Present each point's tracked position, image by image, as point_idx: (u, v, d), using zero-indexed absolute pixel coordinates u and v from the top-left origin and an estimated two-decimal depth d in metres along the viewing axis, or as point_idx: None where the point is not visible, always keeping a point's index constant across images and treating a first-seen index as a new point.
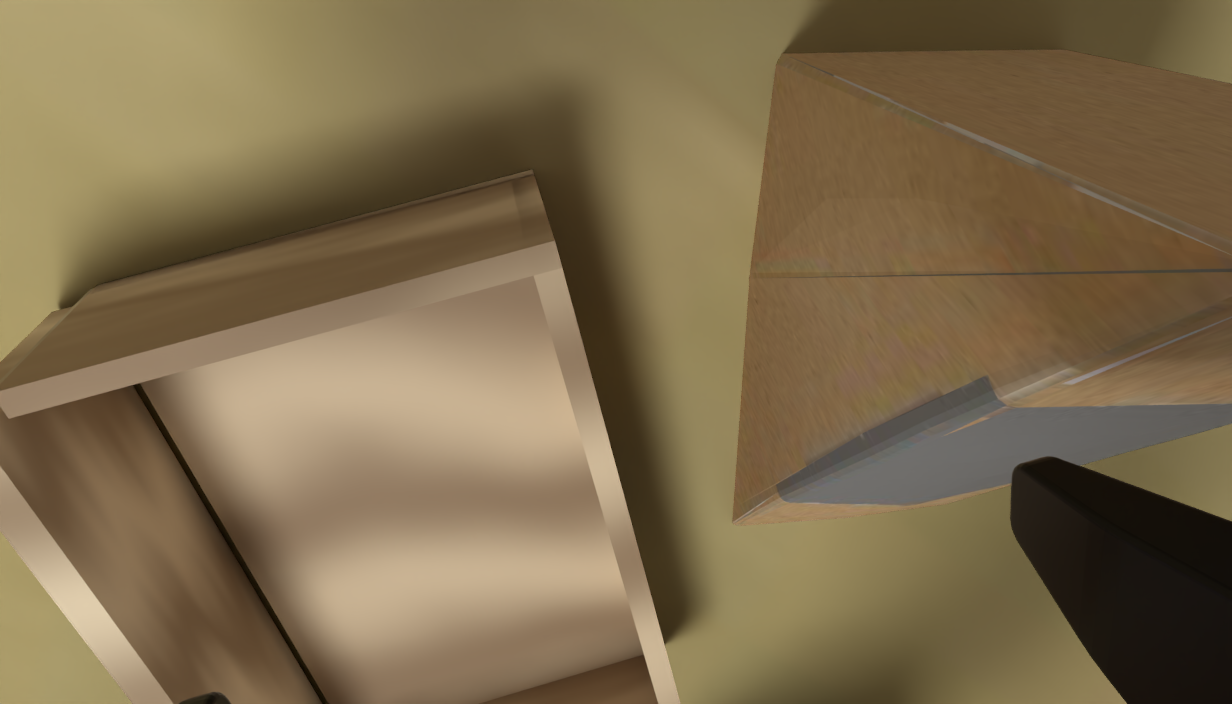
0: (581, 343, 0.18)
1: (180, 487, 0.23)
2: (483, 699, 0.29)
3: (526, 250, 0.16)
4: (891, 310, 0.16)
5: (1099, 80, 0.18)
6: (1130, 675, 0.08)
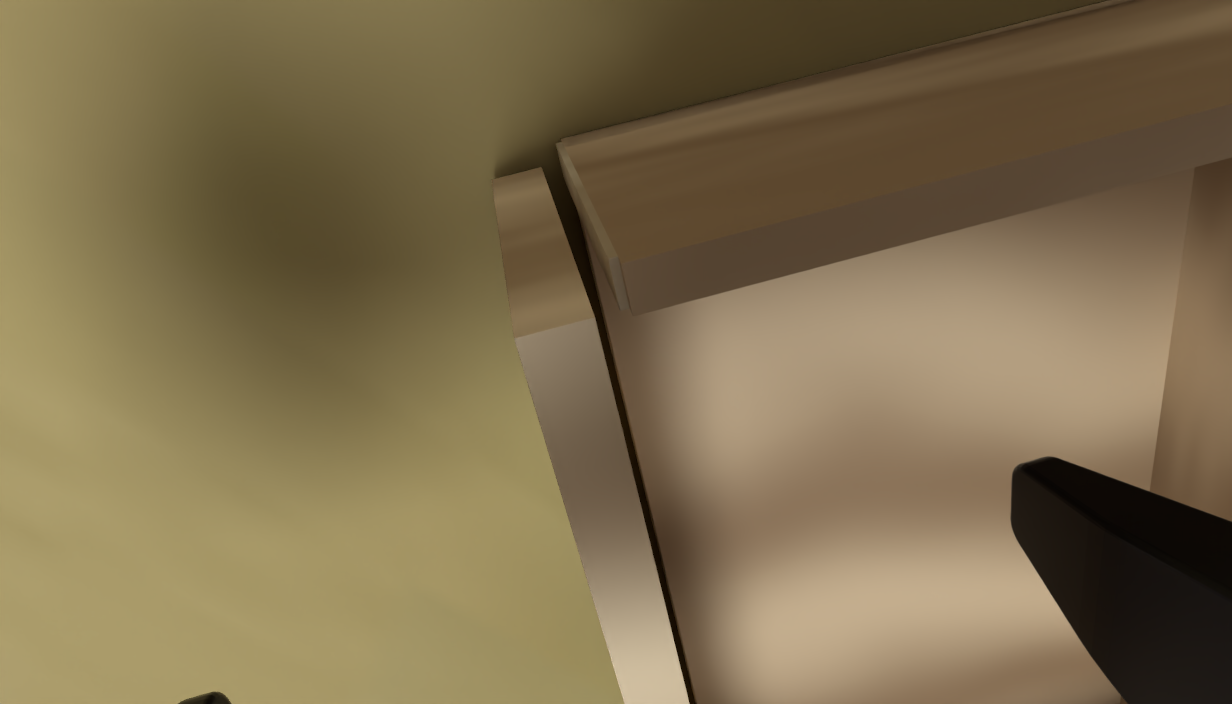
0: None
1: None
2: None
3: None
4: None
5: None
6: (1130, 675, 0.08)
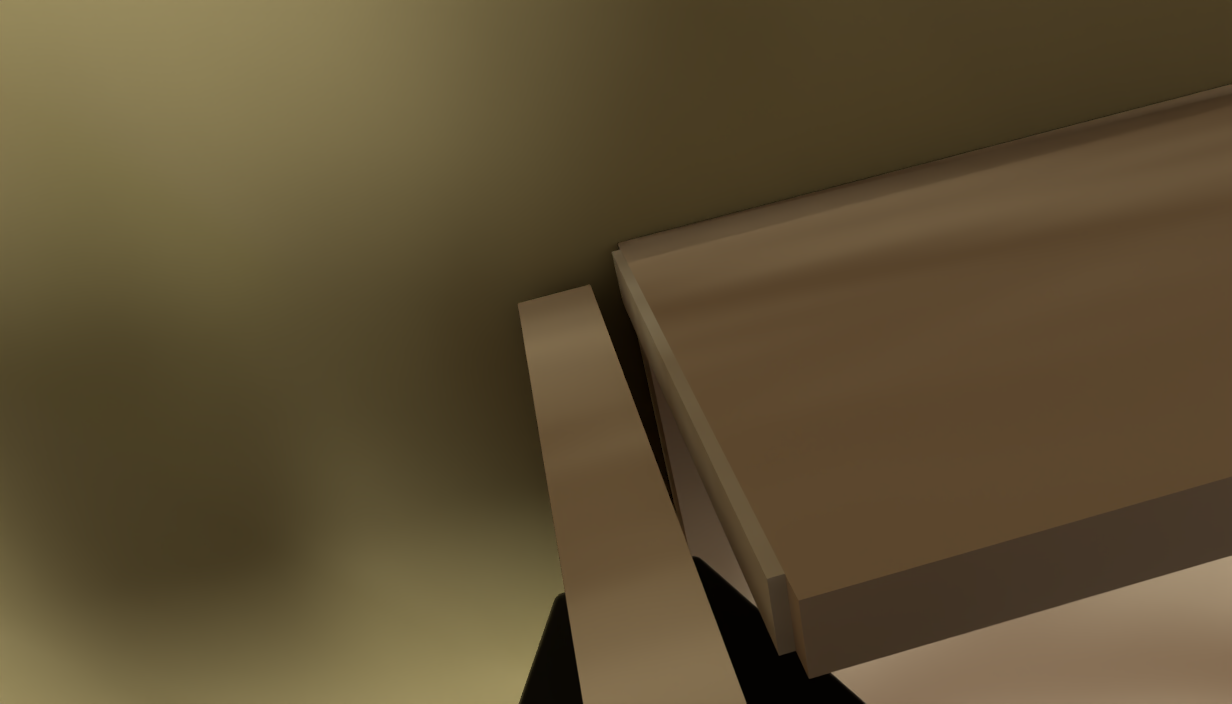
0: None
1: None
2: None
3: None
4: None
5: None
6: None
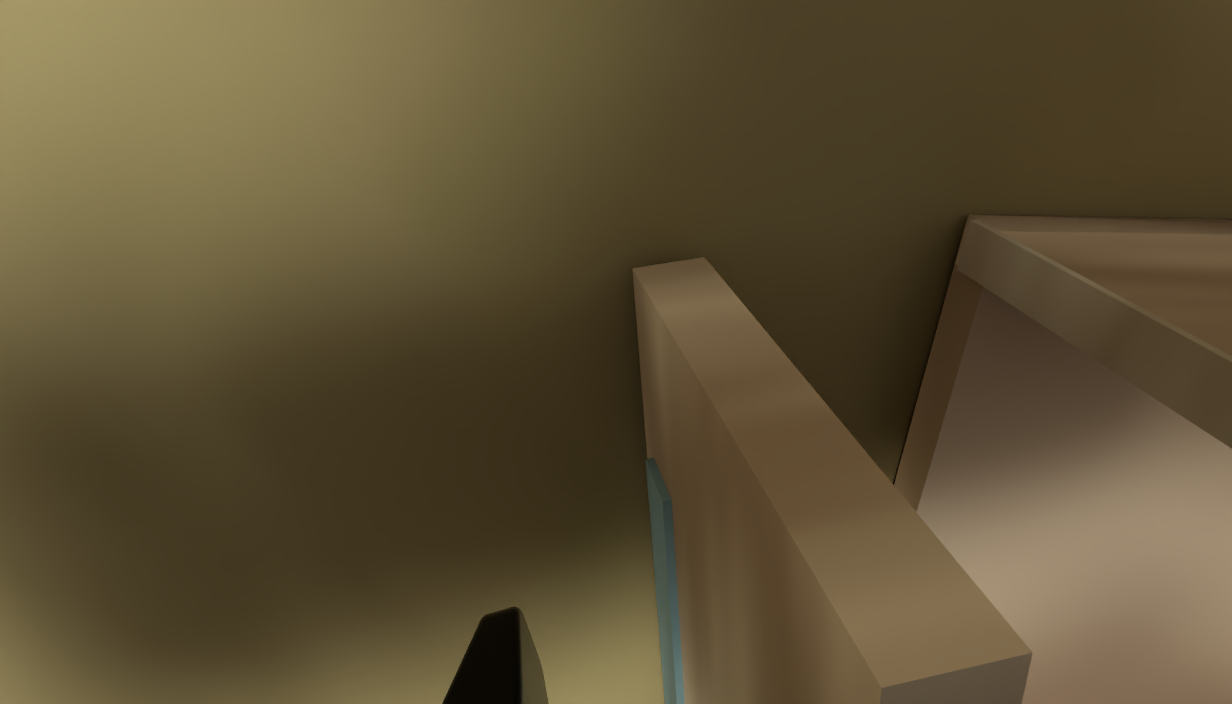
0: None
1: None
2: None
3: None
4: None
5: None
6: None
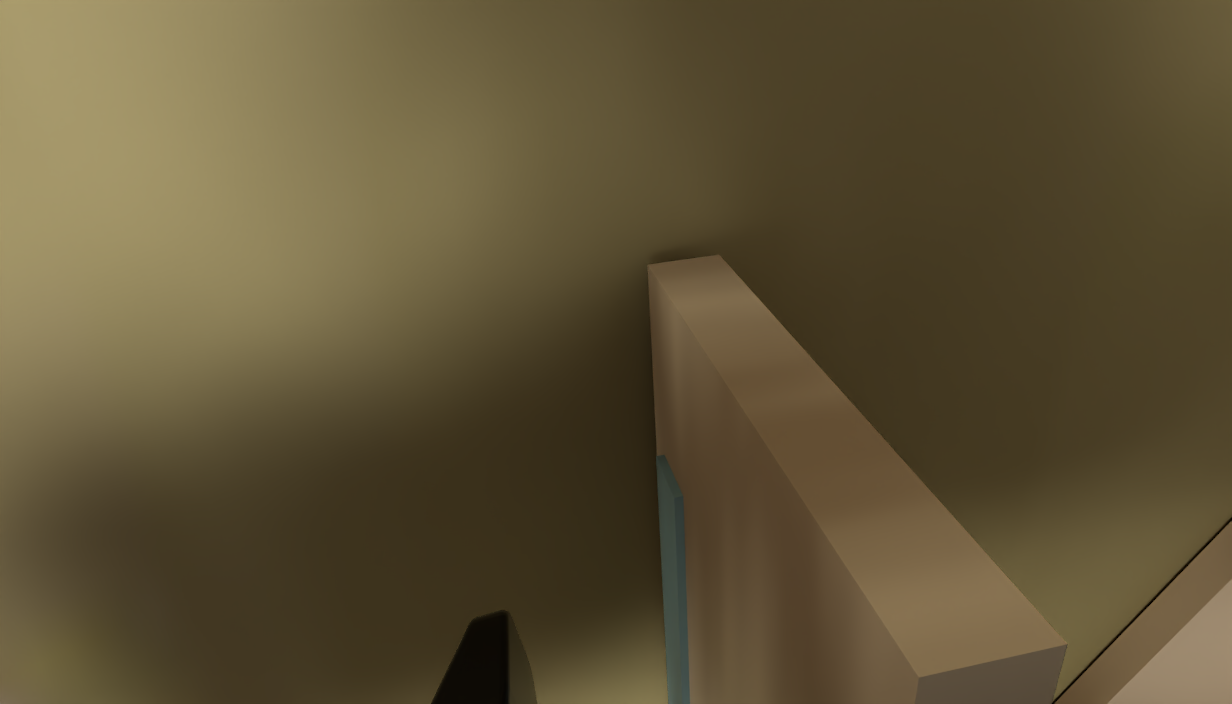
0: None
1: None
2: None
3: None
4: None
5: None
6: None
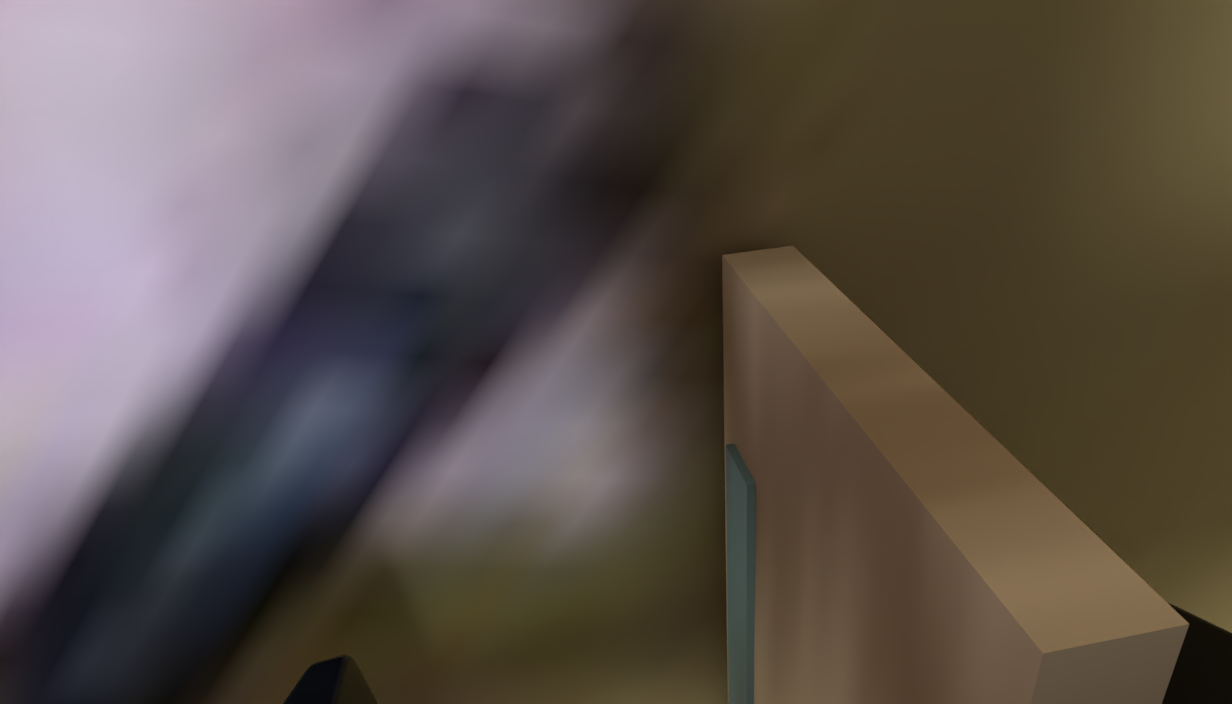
0: None
1: None
2: None
3: None
4: None
5: None
6: None
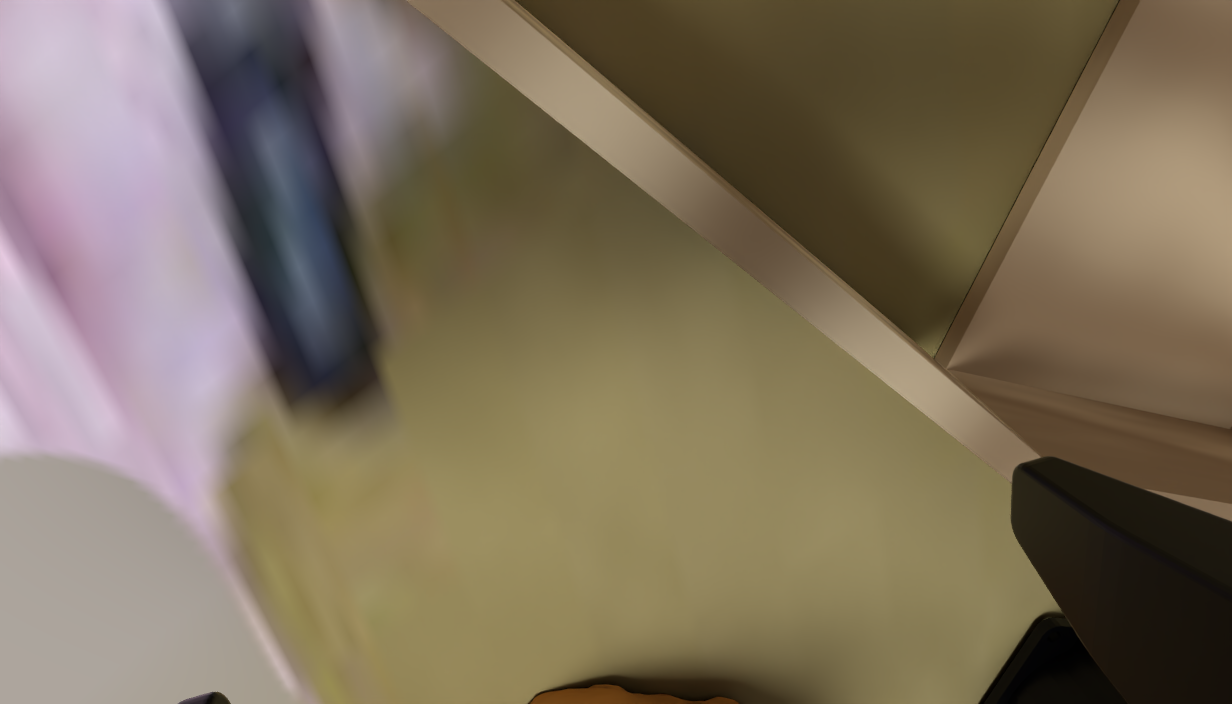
0: None
1: (596, 70, 0.17)
2: (1084, 392, 0.24)
3: None
4: None
5: None
6: (1131, 675, 0.08)
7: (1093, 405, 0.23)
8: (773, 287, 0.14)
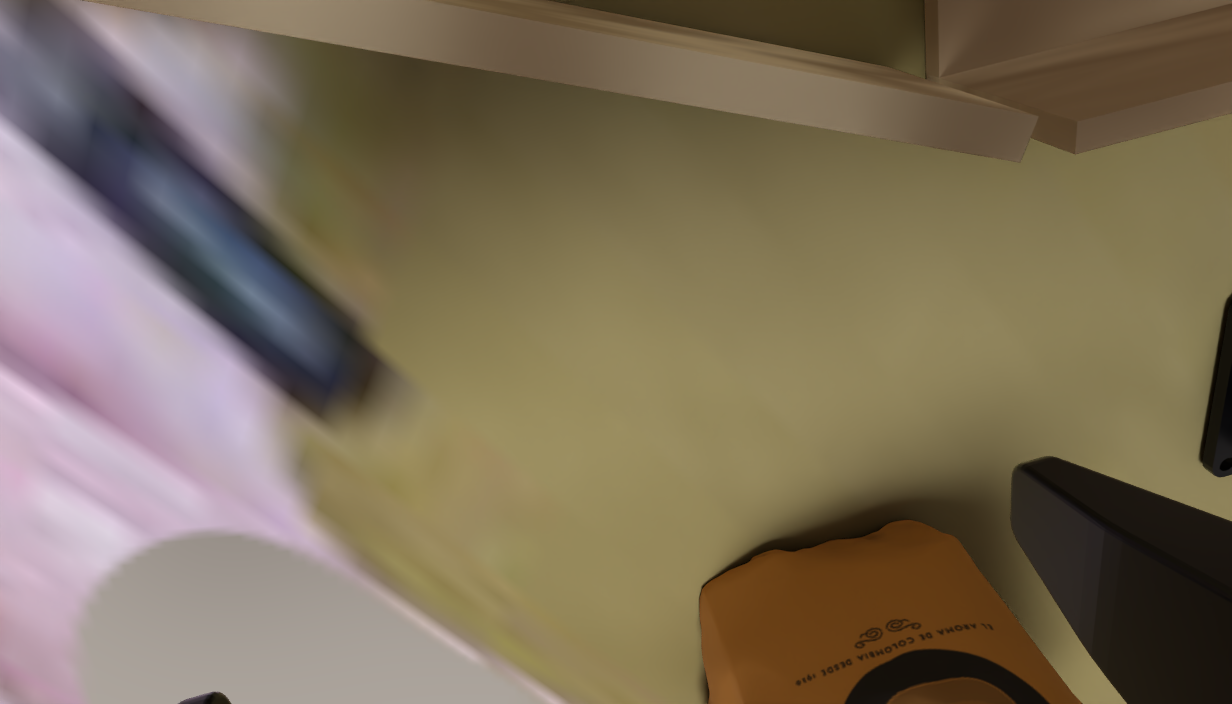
0: None
1: None
2: (1132, 21, 0.19)
3: None
4: None
5: None
6: (1130, 675, 0.08)
7: (1148, 29, 0.19)
8: (583, 81, 0.13)
